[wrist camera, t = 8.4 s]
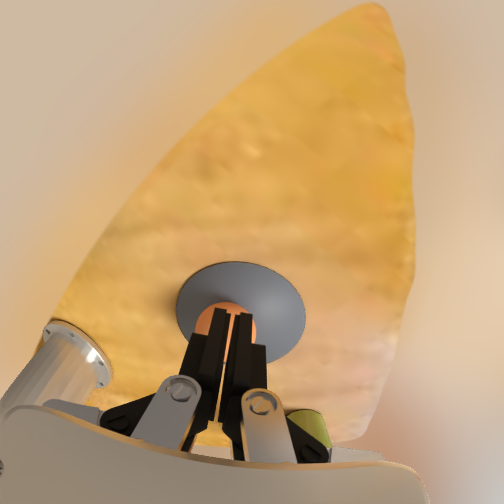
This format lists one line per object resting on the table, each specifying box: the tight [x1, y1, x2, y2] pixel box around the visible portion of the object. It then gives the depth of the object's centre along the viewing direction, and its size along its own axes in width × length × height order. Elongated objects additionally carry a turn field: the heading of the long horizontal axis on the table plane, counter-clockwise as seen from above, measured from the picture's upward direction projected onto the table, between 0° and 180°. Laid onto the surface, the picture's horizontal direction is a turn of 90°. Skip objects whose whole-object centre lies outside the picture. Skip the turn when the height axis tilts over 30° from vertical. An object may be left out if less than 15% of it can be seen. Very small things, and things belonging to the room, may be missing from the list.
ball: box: [195, 302, 256, 362], centre depth 24 cm, size 6×6×6 cm
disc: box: [176, 262, 306, 364], centre depth 26 cm, size 13×13×1 cm
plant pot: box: [287, 410, 332, 448], centre depth 29 cm, size 9×9×9 cm
